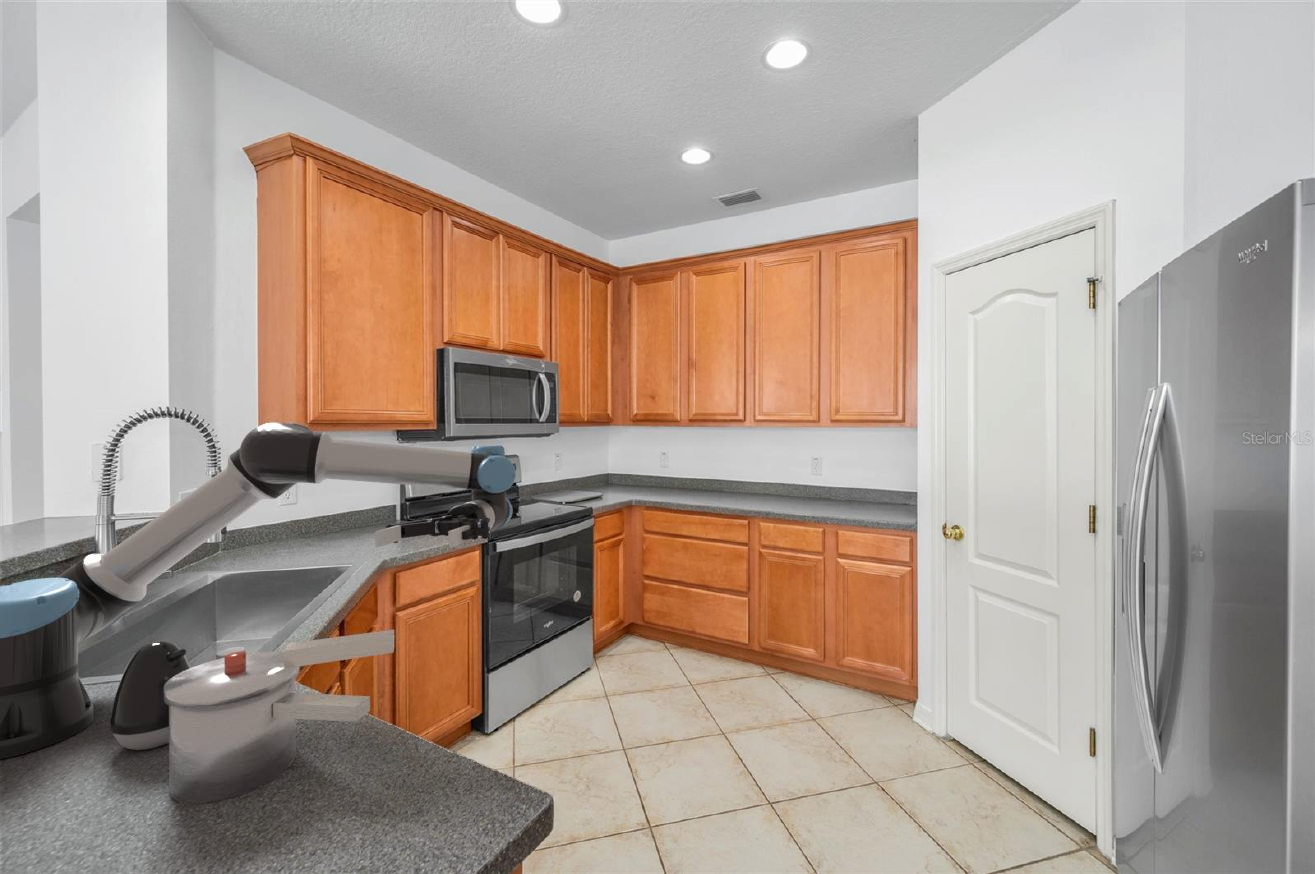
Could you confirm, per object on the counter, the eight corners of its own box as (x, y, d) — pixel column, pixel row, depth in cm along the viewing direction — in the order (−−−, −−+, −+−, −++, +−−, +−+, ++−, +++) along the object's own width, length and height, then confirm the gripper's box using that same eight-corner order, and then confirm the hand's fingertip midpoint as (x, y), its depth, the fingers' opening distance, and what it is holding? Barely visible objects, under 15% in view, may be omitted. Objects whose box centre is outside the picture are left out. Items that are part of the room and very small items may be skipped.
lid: (142, 717, 68) (142, 685, 68) (187, 671, 82) (187, 644, 82) (392, 677, 79) (392, 649, 79) (395, 642, 93) (395, 618, 93)
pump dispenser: (147, 763, 80) (147, 656, 80) (91, 755, 82) (90, 651, 82) (217, 727, 90) (216, 632, 90) (165, 721, 92) (164, 628, 92)
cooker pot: (139, 799, 72) (138, 706, 72) (233, 741, 86) (233, 662, 86) (327, 813, 69) (326, 715, 69) (393, 750, 83) (392, 669, 83)
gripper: (526, 538, 117) (482, 561, 96) (415, 538, 120) (348, 560, 99) (526, 502, 117) (481, 517, 95) (414, 503, 120) (346, 517, 99)
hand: (413, 539), depth 97 cm, fingers open, 13 cm apart
